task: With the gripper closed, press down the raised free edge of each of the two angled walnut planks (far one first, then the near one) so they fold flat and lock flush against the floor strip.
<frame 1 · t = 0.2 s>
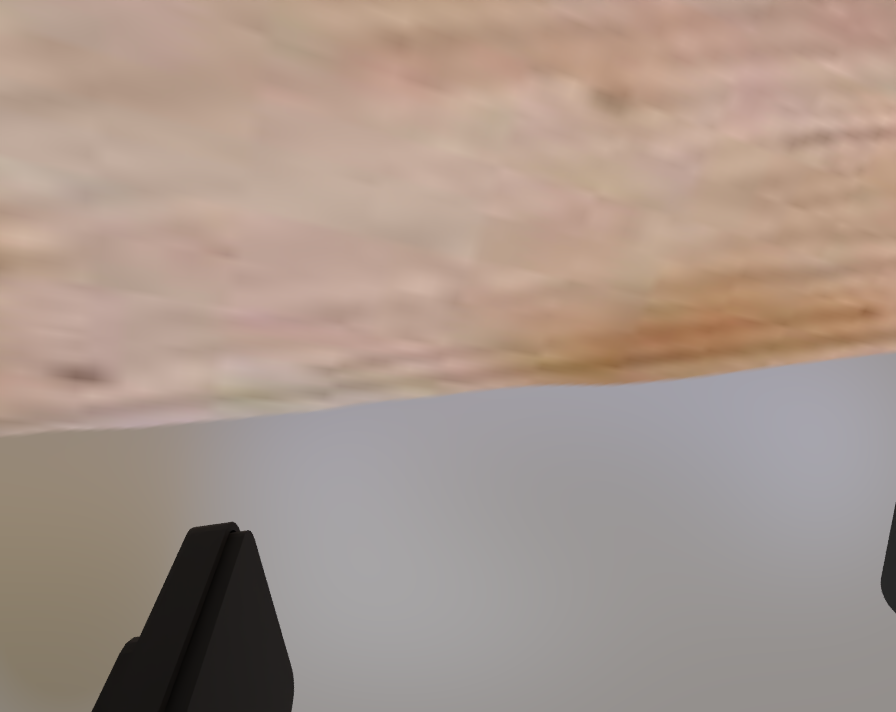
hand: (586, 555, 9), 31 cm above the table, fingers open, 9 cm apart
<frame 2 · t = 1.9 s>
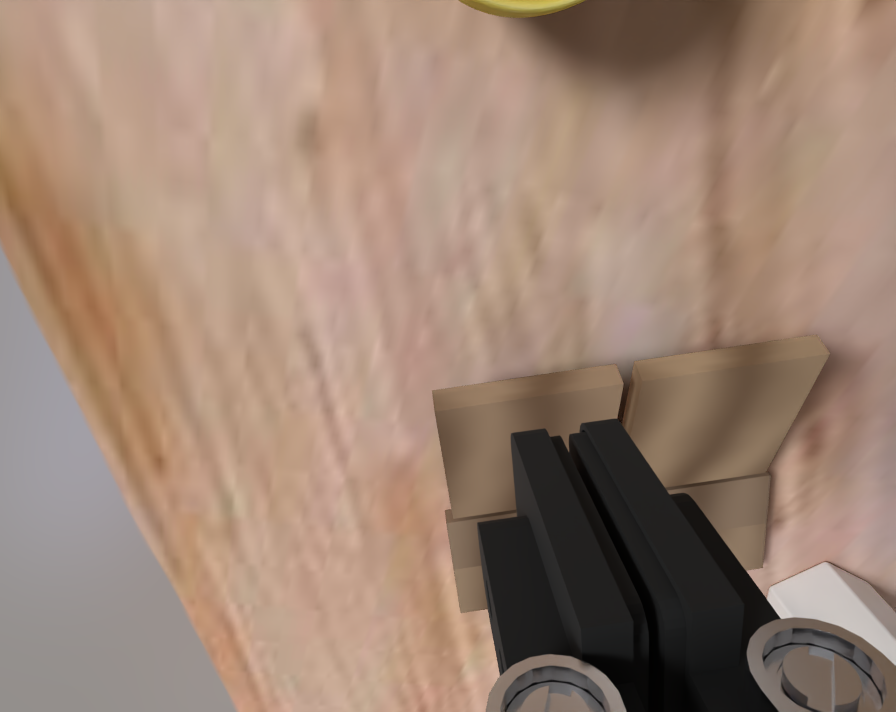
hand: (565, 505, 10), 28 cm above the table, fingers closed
plank b: (526, 449, 39), point 4 cm above the table, hinge at 25.0°
floor strip: (604, 533, 46), on the table
plank a: (706, 422, 39), point 4 cm above the table, hinge at 25.0°
jar: (809, 603, 50), on the table
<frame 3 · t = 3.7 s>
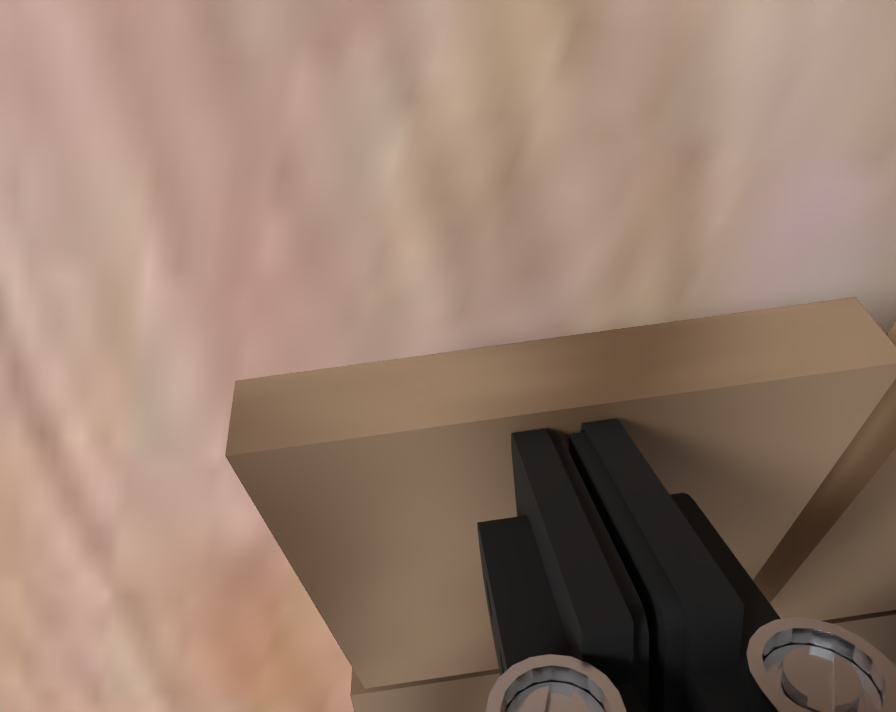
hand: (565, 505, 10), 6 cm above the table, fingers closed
plank b: (543, 546, 14), point 4 cm above the table, hinge at 25.0°, touching gripper
floor strip: (698, 694, 22), on the table
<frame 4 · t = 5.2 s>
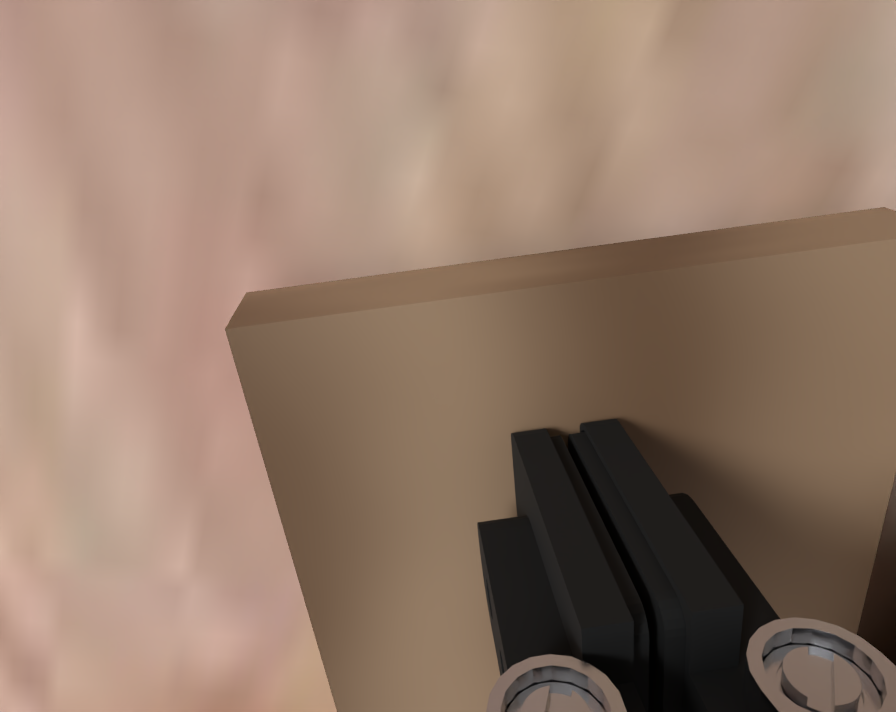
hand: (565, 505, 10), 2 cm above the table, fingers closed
plank b: (587, 570, 12), point 1 cm above the table, hinge at 2.7°, touching gripper
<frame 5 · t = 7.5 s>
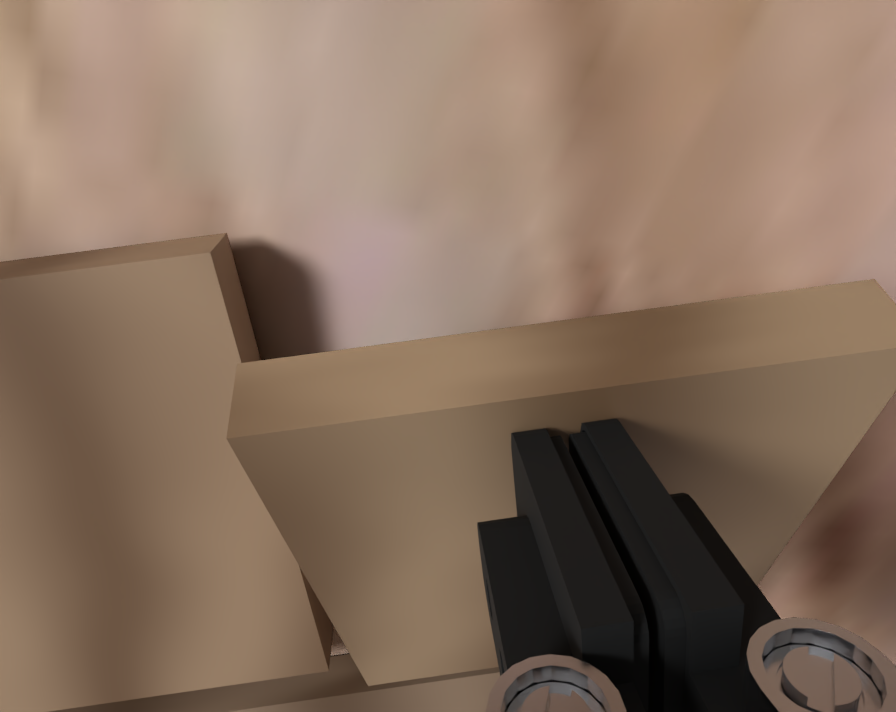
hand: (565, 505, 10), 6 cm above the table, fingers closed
plank b: (78, 508, 16), point 1 cm above the table, hinge at 2.7°
plank a: (551, 538, 14), point 3 cm above the table, hinge at 24.2°, touching gripper
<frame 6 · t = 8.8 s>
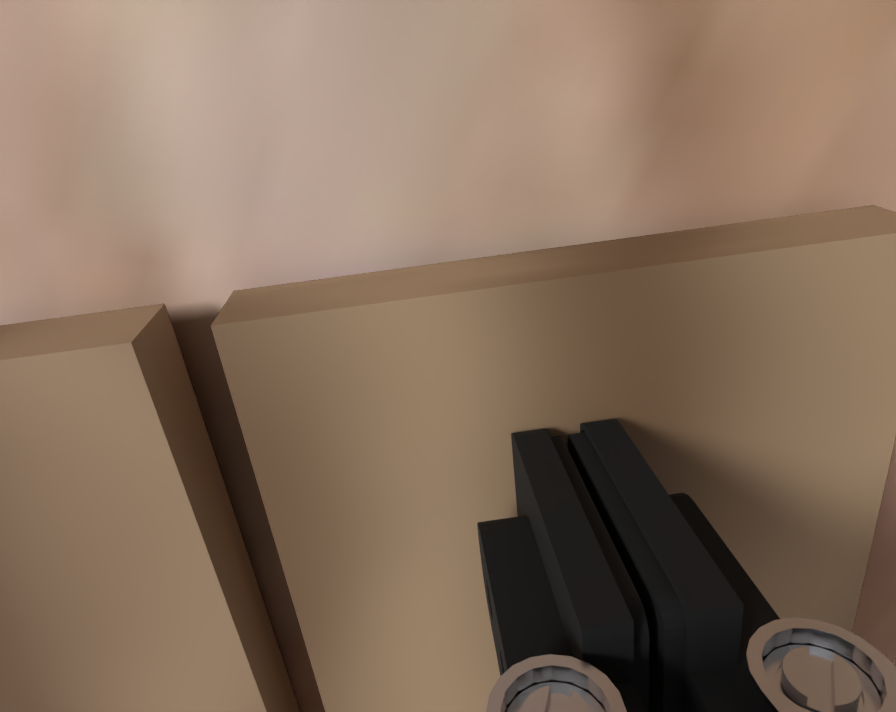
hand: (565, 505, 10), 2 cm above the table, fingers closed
plank a: (578, 572, 12), point 1 cm above the table, hinge at 1.9°, touching gripper
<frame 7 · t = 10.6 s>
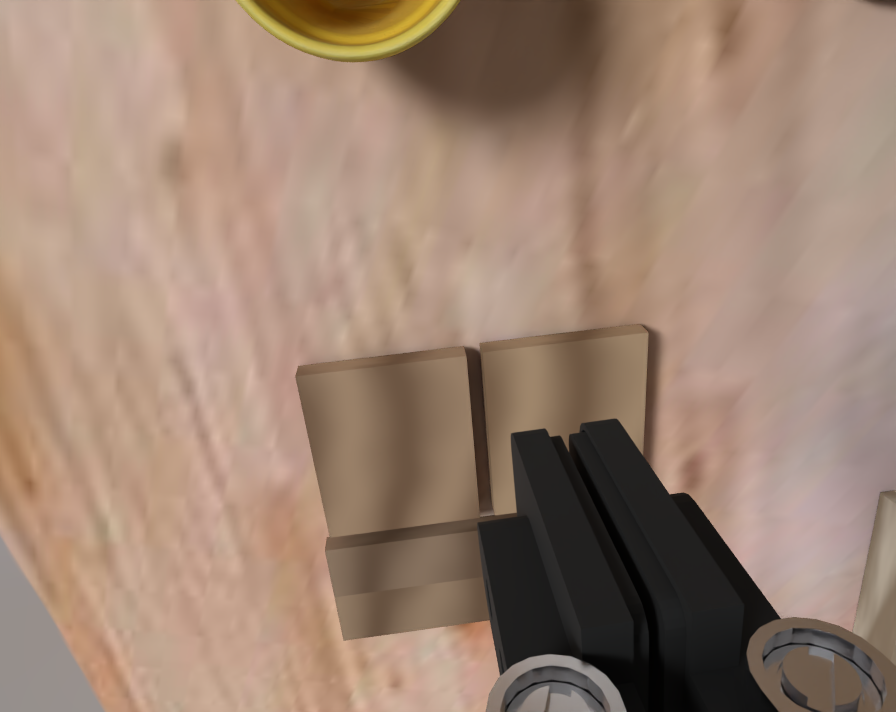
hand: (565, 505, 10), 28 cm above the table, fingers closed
plank b: (394, 445, 41), point 1 cm above the table, hinge at 2.7°
floor strip: (489, 562, 46), on the table
plank a: (564, 423, 41), point 1 cm above the table, hinge at 1.9°
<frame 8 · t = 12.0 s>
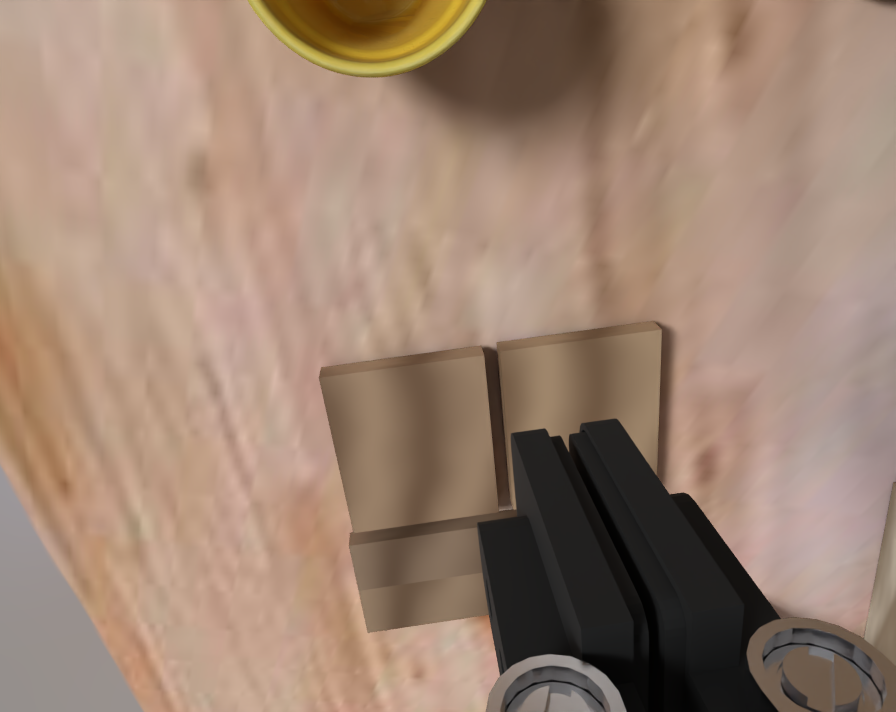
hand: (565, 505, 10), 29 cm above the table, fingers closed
plank b: (414, 443, 42), point 1 cm above the table, hinge at 2.7°
floor strip: (508, 555, 47), on the table
plank a: (580, 419, 42), point 1 cm above the table, hinge at 1.9°
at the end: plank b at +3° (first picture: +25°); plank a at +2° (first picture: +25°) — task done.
